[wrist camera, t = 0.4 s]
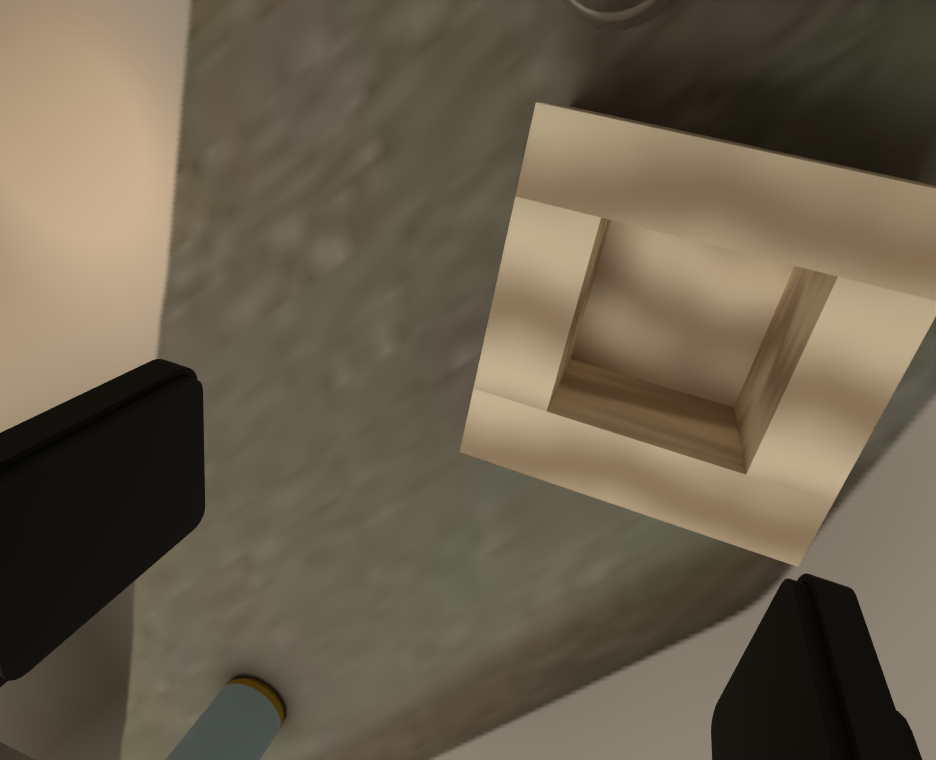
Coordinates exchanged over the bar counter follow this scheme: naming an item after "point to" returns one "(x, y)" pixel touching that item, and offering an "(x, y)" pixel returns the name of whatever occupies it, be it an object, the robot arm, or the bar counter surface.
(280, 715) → the bottle
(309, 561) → the bar counter surface
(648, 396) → the well block
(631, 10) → the plastic bottle
